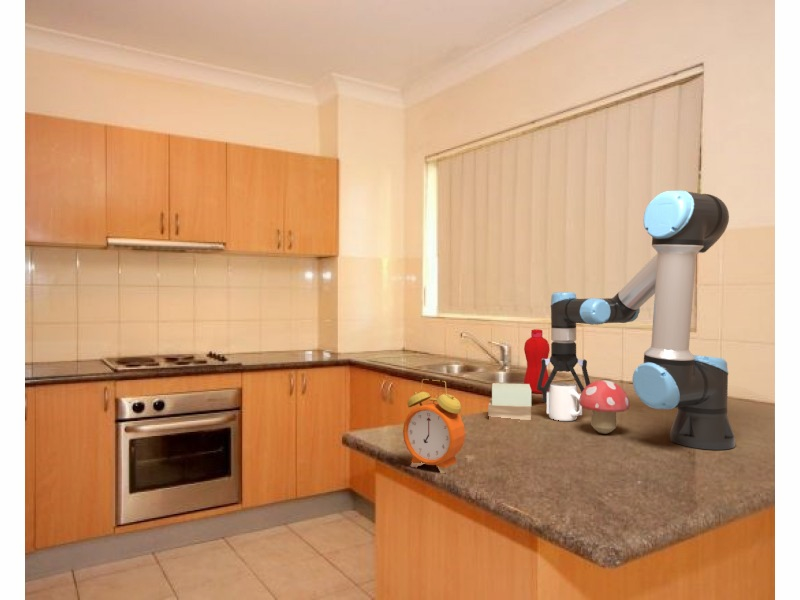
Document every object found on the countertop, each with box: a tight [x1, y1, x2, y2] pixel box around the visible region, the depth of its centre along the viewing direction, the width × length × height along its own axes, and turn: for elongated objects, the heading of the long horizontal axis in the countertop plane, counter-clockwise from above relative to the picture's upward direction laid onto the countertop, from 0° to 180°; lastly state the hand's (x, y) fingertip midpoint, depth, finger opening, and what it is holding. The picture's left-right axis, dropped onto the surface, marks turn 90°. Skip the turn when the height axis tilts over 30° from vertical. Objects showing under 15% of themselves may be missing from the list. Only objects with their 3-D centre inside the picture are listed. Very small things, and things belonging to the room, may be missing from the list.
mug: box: [548, 381, 583, 422], centre depth 175 cm, size 9×12×11 cm
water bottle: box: [523, 328, 551, 395], centre depth 225 cm, size 9×11×25 cm
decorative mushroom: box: [578, 379, 631, 435], centre depth 158 cm, size 13×13×15 cm
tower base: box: [487, 397, 532, 421], centre depth 180 cm, size 13×13×5 cm
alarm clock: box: [402, 378, 466, 468], centre depth 128 cm, size 13×6×20 cm, turn 56°
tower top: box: [491, 382, 532, 407], centre depth 180 cm, size 12×12×5 cm
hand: (563, 413), depth 175 cm, fingers closed on mug, 9 cm apart
